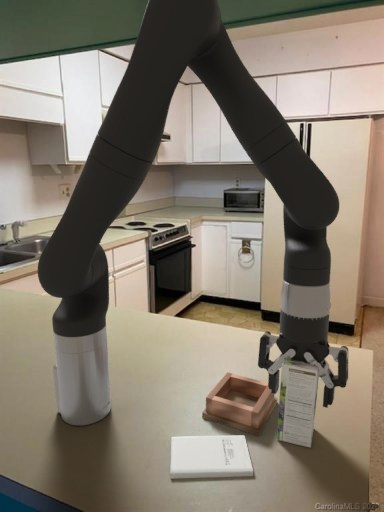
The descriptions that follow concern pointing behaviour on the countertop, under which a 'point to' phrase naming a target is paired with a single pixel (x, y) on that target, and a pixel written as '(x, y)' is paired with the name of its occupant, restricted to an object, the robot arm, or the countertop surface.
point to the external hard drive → (210, 457)
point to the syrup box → (297, 402)
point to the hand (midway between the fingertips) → (299, 397)
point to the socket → (240, 403)
